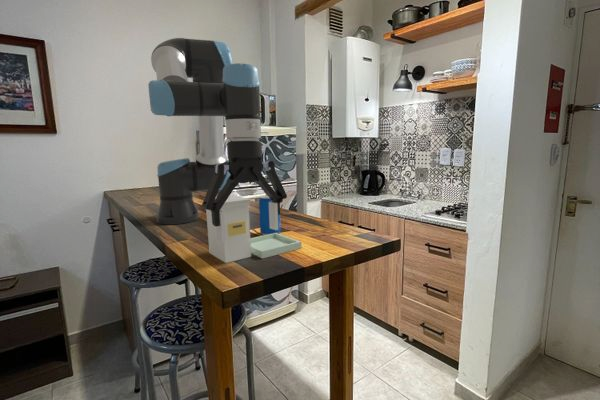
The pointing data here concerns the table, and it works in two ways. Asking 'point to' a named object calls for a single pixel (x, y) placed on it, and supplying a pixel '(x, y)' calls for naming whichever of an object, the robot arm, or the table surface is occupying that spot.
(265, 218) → the beverage can
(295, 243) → the tray
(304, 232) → the table surface
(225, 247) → the block
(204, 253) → the table surface
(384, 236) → the table surface
